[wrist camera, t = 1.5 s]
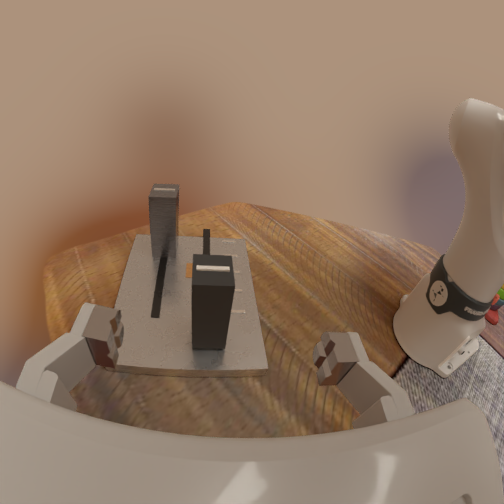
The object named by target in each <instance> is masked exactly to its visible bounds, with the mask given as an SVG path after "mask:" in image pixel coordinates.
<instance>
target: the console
mask: <svg viewBox="0 0 504 504" xmlns="http://www.w3.org/2000/svg"><path fill="white" fill-rule="evenodd" d="M178 211H179V185H175V184H173V185H172V184H154V185H153V188H152V190H151V192H150V195H149V218H150V234H151V235H141V234H137V235H136V237H135V240H134V243H133V246H132V249H131V252H130V255H129V259H128V262H127V265H126V268H125V272H124V275H123V278H122V282H121V285H120V289H119V292H118V296H117V300H116V304H115V308H114V309H118V310H121V315H122V317H121V320H120V321H121V322H122V323H123V326H124V336H123V342H122V346H121V347H120V348H118V349H117V350H118V354H119V357H118V360H117V364H116V368H115V369H114V368H109V367H105V368H106V370H109V371H117V372H126V373H136V374H147V375H161V376H181V377H247V376H265V375H266V373H267V371H268V364H267V358H266V353H265V347H264V342H263V337H262V331H261V326H260V320H259V315H258V309H257V304H256V299H255V293H254V288H253V282H252V277H251V271H250V266H249V260H248V255H247V249H246V243H245V239H229V238H210V229H203V237H188V236H178V213H179V212H178ZM193 254H205V255H228V256H232V262H233V270H234V279H235V291H234V297H233V303H232V309H231V316H230V322H229V328H228V334H227V340H226V347H225V349H194V348H192V310H191V297H192V265H193Z"/></svg>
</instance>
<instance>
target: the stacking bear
mask: <svg viewBox="0 0 504 504" xmlns="http://www.w3.org/2000/svg"><path fill="white" fill-rule="evenodd" d="M497 294H498V295H499V296H500V298H499V300H498V301H497V302H496V303H495V304H494V305H492V304H491V307H490V309H489V310H488V312H487V313H486V314H485V318H486V319H487V320H488V321H489V322H490V323H491V324H493V325H496V324H497V323H498V319H499V317H498V311H497V310H498V309H499V308H500V307H501V306H502V305H504V284H503V285H502V287H501V288H500V290H499V291H498V292H497Z"/></svg>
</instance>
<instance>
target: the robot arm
mask: <svg viewBox="0 0 504 504" xmlns="http://www.w3.org/2000/svg"><path fill="white" fill-rule="evenodd" d="M449 140H450V145H451V148H452V151H453V153H454V155H455V157H456V159H457V161H458V163H459V166H460V168H461V171H462V174H463V178H464V183H465V190H466V201H465V209H464V214H463V217H462V220H461V223H460V225H459V228H458V230H457V232H456V235H455V237H454V239H453V241H452V243H451V245H450V247H449V248H448V250H447V252H446V254H444V255H442V256H441V257H440V259H439V260H438V261H437V263H436V264H435V266H434V268H433V270H432V272H431V273H429V274H428V273H427V274H426V275H424V277H423V278H422V279H421V280H420V282H419V283H418V284H417V285H416V287H415V288H414V289H413V291H412V292H411V293H410V294H409V295H404V296H403V297H402V298H401V300H400V308H399V309H398V311H397V312H396V313H395V316H394V319H393V328H394V332H395V335H396V338H397V340H398V342H399V344H400V345H401V347H402V348H403V350H404V351H405V352H406V353H407V354H408V355H409V356H410V357H411V358H412V359H413V360H414V361H416V362H417V363H419V364H421V365H423V366H425V367H428V368H430V369H432V370H434V371H435V372H436V373H437V374H438V375H440V376H441V377H443V378H446V377H448V376H449V375H450V374H452V373H453V372H454V371H455V370H456V369H457V368H459V367H460V366H461V365H462V364H463V363H464V362H466V361H467V360H468V359H469V358H470V357H471V356H472V355H473V354H474V353H475V352H476V351H477V350H478V349H479V343H478V339H477V336H478V335H479V334H480V333H481V332H482V331H483V329H484V328H485V314H486V313H487V312H488V310H489V309H490V307H491V304H492V305H494V304H495V303H496V302H497V301H498V300H499V298H500V296H499V295H498V294H497V292H498V291H499V290H500V288H501V287H502V285H503V284H504V110H503V109H501V108H500V107H497V106H495V105H492V104H490V103H487V102H484V101H480V100H477V99H473V98H470V99H467V100H465V101H464V102H462V103H461V104H460V105H459V106H458V107H457V108H456V109H455V111H454V113H453V114H452V117H451V120H450V124H449ZM121 317H122V315H121V310H118V309H113V308H109V307H104V306H100V305H95V304H91V303H87V302H85V303H84V304H83V305H82V307H81V309H80V311H79V313H78V316H77V318H76V320H75V322H74V324H73V326H72V329H71V331H70V333H67V332H66V333H65V334H64V335H62V336H61V337H59V338H58V339H56V340H55V341H54V342H52V343H51V344H49V345H48V346H46V347H45V348H44V349H42V350H41V351H39V352H38V353H37V354H35V355H34V356H33V357H31V358H30V359H28V360H27V361H26V362H25V365H24V367H23V370H22V372H21V375H20V377H19V380H18V382H17V385H16V388H14V387H12V386H10V385H8V384H6V383H4V382H2V381H0V504H503V502H504V500H503V486H502V478H501V471H500V466H499V461H498V456H497V452H496V448H495V444H494V440H493V437H492V434H491V431H490V428H489V425H488V422H487V419H486V417H485V415H484V413H483V412H482V411H481V410H480V409H479V408H478V407H477V406H476V405H475V404H473V403H472V402H471V401H470V400H468V399H466V398H461V399H458V400H456V401H453V402H450V403H448V404H445V405H442V406H440V407H437V408H434V409H431V410H428V411H425V412H421V413H418V414H415V413H414V410H413V407H412V405H411V402H410V399H409V397H408V394H407V392H406V391H405V390H404V389H403V388H402V387H401V386H400V385H398V384H397V383H396V382H395V381H394V380H393V379H392V378H390V377H389V376H388V375H387V374H386V373H385V372H384V371H383V370H381V369H380V368H379V367H378V366H377V365H376V364H375V363H373V362H372V361H369V359H368V356H367V354H366V351H365V349H364V346H363V344H362V341H361V339H360V337H359V334H358V333H357V332H324V333H323V334H322V336H321V340H322V341H320V342H319V343H317V344H316V346H315V347H314V351H313V361H314V364H315V365H316V366H317V367H318V368H319V369H318V370H317V372H316V374H317V378H318V382H319V386H323V385H337V387H338V388H339V390H340V391H341V392H342V393H343V394H344V395H345V397H346V398H347V399H348V400H349V401H350V403H351V404H352V405H353V406H354V407H355V409H356V410H357V411H358V412H359V413H360V414H361V415H360V416H359V417H357V418H356V419H355V420H354V421H353V422H352V424H353V428H354V429H351V430H345V431H338V432H331V433H324V434H315V435H305V436H293V437H275V438H225V437H207V436H195V435H185V434H176V433H169V432H162V431H155V430H149V429H144V428H138V427H133V426H129V425H124V424H119V423H115V422H111V421H107V420H103V419H99V418H96V417H92V416H89V415H85V414H82V413H79V412H76V408H77V403H76V402H75V400H74V399H73V397H72V396H71V395H70V393H69V392H70V391H71V390H72V389H73V388H74V387H75V386H76V385H77V384H78V383H79V382H80V381H81V380H82V379H83V378H84V377H85V376H86V375H87V374H88V373H89V372H90V371H91V370H92V369H93V368H94V367H95V366H96V365H100V366H104V367H109V368H114V369H115V368H116V364H117V360H118V357H119V354H118V350H117V349H118V348H120V347H121V346H122V342H123V336H124V326H123V323H122V322H121V321H120V320H121Z"/></svg>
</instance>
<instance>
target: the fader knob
mask: <svg viewBox="0 0 504 504" xmlns="http://www.w3.org/2000/svg"><path fill="white" fill-rule="evenodd" d="M234 291H235V279H234V270H233V262H232V256H228V255H205V254H193V265H192V297H191V310H192V348H194V349H225V347H226V340H227V334H228V328H229V322H230V316H231V309H232V303H233V297H234Z"/></svg>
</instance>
